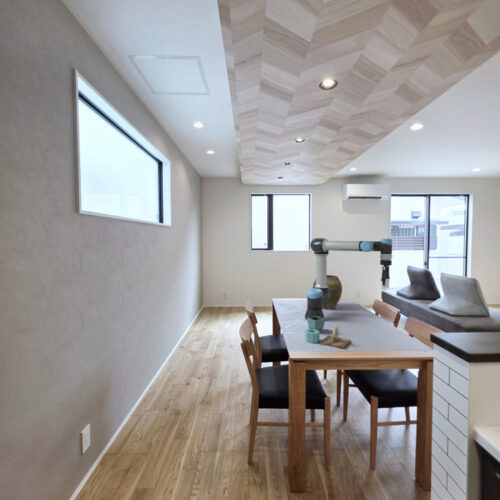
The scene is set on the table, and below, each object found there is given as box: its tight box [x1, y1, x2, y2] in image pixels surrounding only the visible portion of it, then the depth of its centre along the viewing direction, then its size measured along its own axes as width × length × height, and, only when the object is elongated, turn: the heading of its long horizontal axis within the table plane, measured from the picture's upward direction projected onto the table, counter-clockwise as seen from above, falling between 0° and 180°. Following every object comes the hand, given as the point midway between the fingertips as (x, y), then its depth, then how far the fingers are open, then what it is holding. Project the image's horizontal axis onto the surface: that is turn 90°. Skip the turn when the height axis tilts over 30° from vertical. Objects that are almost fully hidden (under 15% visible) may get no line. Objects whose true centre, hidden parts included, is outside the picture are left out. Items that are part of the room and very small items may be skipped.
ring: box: [304, 328, 320, 344], centre depth 168 cm, size 8×8×6 cm
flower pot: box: [306, 316, 326, 333], centre depth 186 cm, size 9×9×9 cm
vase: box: [312, 274, 343, 310], centre depth 251 cm, size 26×26×30 cm
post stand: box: [319, 326, 351, 350], centre depth 164 cm, size 14×14×9 cm
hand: (385, 288), depth 198 cm, fingers open, 13 cm apart
